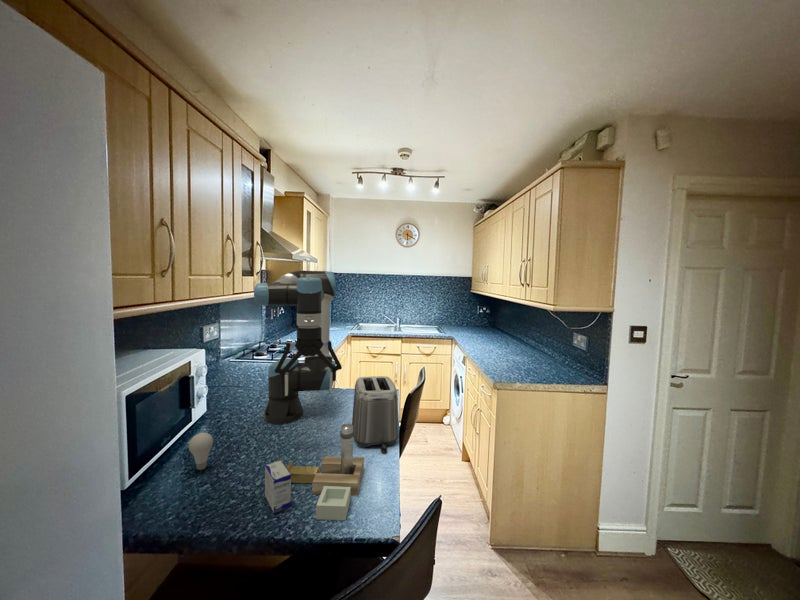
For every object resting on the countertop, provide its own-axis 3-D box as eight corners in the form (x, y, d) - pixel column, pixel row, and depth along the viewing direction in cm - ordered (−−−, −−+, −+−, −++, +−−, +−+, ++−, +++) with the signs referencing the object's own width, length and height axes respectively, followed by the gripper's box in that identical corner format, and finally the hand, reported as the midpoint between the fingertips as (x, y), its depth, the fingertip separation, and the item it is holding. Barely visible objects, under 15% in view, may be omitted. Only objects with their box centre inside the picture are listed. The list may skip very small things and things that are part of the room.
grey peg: (338, 485, 87) (338, 429, 86) (341, 476, 91) (341, 423, 90) (352, 485, 87) (352, 430, 86) (354, 477, 91) (354, 423, 90)
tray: (316, 519, 75) (316, 505, 74) (324, 498, 82) (324, 486, 81) (345, 520, 75) (345, 506, 74) (350, 499, 82) (350, 486, 81)
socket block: (357, 495, 83) (357, 483, 83) (312, 494, 83) (312, 481, 83) (363, 468, 95) (363, 457, 95) (324, 467, 95) (324, 456, 95)
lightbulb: (187, 478, 89) (186, 440, 88) (191, 466, 95) (190, 430, 94) (211, 473, 92) (211, 436, 91) (214, 461, 97) (214, 427, 96)
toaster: (391, 415, 133) (392, 371, 132) (403, 453, 104) (404, 397, 102) (351, 417, 130) (351, 372, 129) (352, 457, 101) (353, 399, 100)
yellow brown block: (315, 484, 87) (315, 473, 87) (282, 483, 87) (282, 472, 87) (320, 474, 92) (320, 463, 91) (288, 473, 92) (288, 462, 92)
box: (292, 506, 79) (291, 473, 78) (273, 514, 76) (273, 480, 76) (281, 489, 85) (281, 459, 84) (264, 496, 82) (264, 465, 82)
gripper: (264, 329, 92) (265, 400, 93) (350, 327, 98) (349, 393, 99) (268, 325, 99) (268, 391, 100) (347, 324, 105) (347, 386, 107)
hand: (309, 392), depth 100 cm, fingers open, 13 cm apart
